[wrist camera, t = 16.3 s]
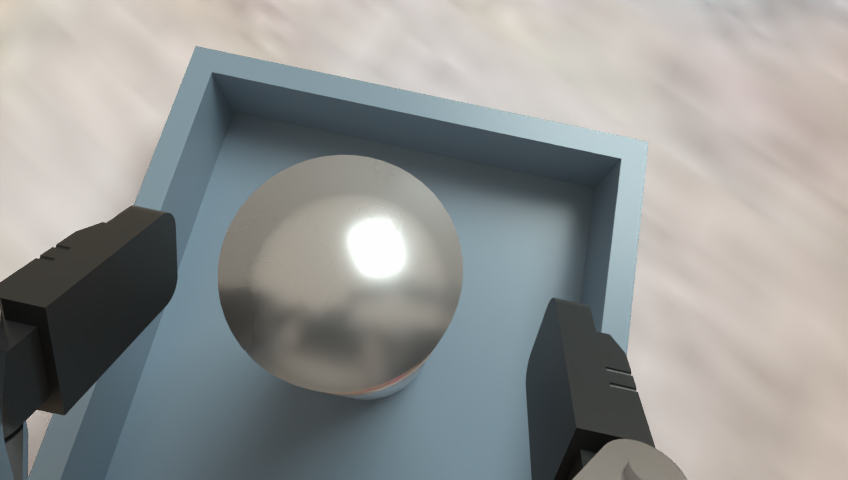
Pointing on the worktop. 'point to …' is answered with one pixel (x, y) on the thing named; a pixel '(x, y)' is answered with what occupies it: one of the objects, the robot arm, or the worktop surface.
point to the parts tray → (456, 351)
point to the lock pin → (341, 276)
